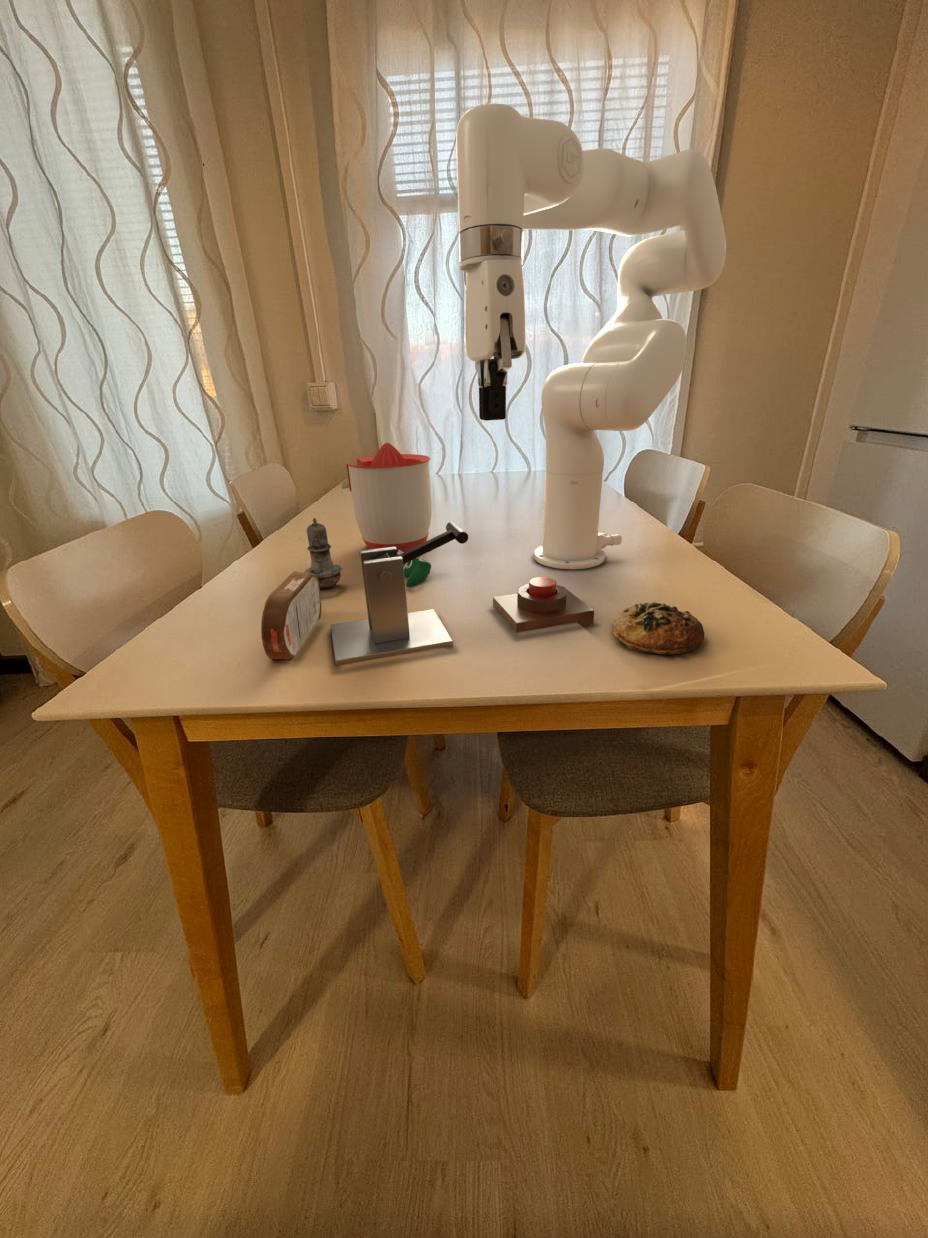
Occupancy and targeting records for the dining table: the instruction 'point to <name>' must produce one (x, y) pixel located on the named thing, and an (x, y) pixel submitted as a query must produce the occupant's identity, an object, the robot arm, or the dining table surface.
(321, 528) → the salt shaker
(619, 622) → the bread roll
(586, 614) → the button block
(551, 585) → the button
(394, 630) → the bracket
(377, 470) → the citrus juicer
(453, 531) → the lever
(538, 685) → the dining table surface
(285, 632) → the tin
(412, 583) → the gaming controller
